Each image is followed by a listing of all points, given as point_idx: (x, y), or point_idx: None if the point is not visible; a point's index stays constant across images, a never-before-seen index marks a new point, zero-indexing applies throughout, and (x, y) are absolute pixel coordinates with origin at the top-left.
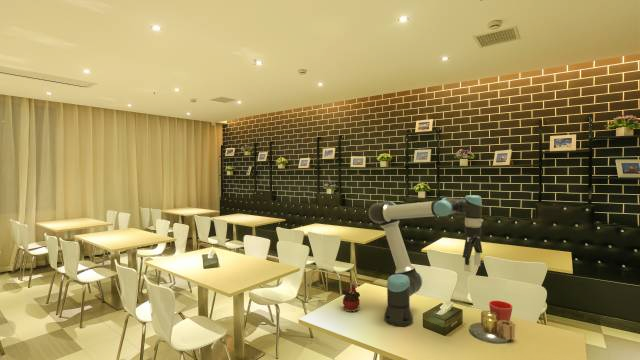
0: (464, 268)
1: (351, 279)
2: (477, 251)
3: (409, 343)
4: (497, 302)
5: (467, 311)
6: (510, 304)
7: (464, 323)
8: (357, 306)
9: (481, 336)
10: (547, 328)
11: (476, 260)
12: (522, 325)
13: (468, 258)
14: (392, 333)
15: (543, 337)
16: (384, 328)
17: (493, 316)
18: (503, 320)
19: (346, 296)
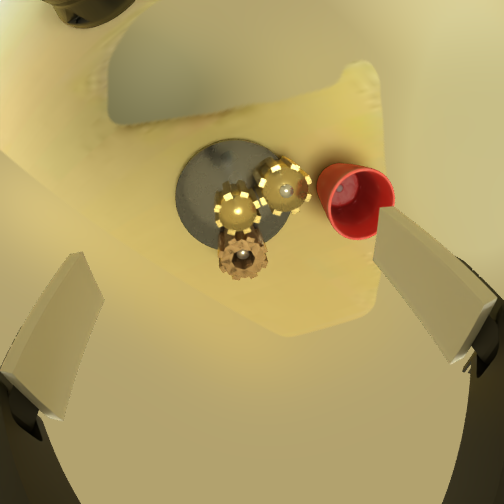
0: (59, 268)
1: None
2: (491, 343)
3: (22, 109)
4: (386, 184)
5: (348, 80)
6: None
7: (246, 108)
8: None
9: (178, 201)
10: (370, 271)
11: (407, 261)
12: None
13: (27, 407)
14: (30, 50)
15: (316, 283)
16: (39, 20)
17: (273, 210)
18: (260, 246)
19: None
